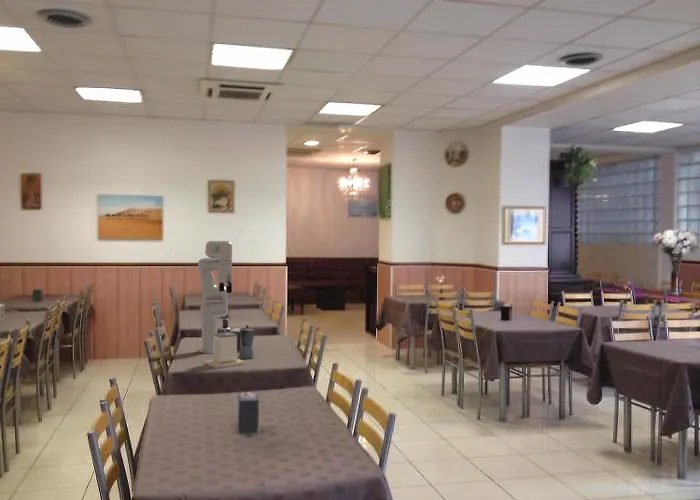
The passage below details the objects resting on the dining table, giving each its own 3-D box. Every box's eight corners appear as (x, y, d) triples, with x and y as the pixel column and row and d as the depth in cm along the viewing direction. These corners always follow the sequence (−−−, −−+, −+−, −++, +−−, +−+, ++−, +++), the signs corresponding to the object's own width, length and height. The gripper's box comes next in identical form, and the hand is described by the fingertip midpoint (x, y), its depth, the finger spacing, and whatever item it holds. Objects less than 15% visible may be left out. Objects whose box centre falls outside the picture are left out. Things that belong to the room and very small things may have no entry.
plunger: (216, 358, 385) (216, 319, 384) (228, 357, 390) (228, 318, 389) (222, 360, 379) (222, 320, 378) (234, 359, 384) (234, 319, 383)
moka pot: (257, 355, 409) (257, 323, 408) (251, 360, 394) (251, 327, 393) (242, 355, 410) (242, 323, 409) (235, 360, 394) (235, 327, 394)
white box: (204, 363, 385) (204, 333, 384) (234, 359, 396) (234, 330, 396) (215, 368, 373) (215, 337, 372) (245, 364, 384) (245, 334, 384)
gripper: (213, 262, 387) (213, 291, 388) (226, 263, 373) (226, 293, 374) (224, 261, 392) (224, 290, 392) (238, 263, 378) (237, 293, 378)
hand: (225, 292), depth 383 cm, fingers open, 9 cm apart
